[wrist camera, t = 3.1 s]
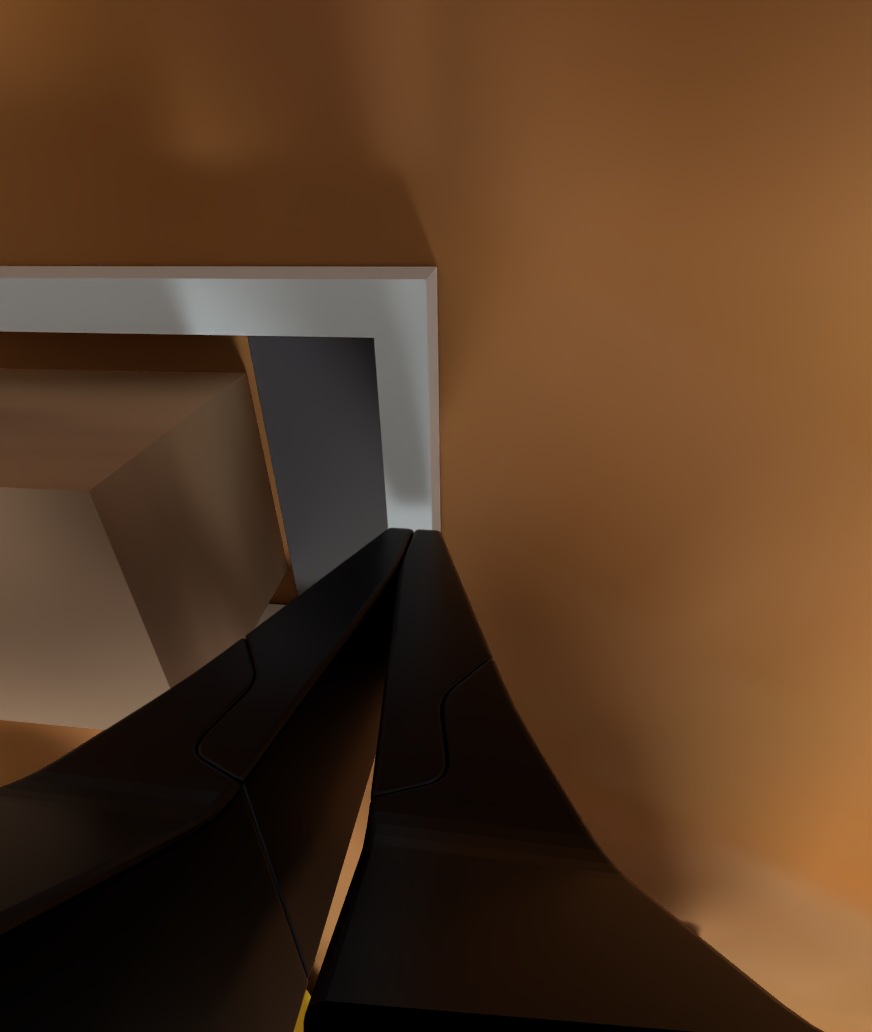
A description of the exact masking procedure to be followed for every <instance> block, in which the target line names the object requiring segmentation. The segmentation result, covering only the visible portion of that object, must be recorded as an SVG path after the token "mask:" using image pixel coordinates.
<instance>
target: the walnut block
mask: <svg viewBox="0 0 872 1032" xmlns="http://www.w3.org/2000/svg"><path fill="white" fill-rule="evenodd" d="M287 570H288V568H287V563H286V558H285V553H284V549H283V544H282V539H281V534H280V530H279V525H278V520H277V515H276V510H275V506H274V501H273V496H272V491H271V487H270V482H269V477H268V472H267V468H266V463H265V458H264V453H263V449H262V444H261V439H260V434H259V429H258V425H257V420H256V415H255V410H254V406H253V401H252V396H251V391H250V387H249V382H248V377H247V372H188V371H126V370H64V369H3V368H0V720H7V721H17V722H27V723H37V724H47V725H57V726H67V727H77V728H87V729H98V730H106V729H107V728H109V727H110V726H112V725H114V724H115V723H117V722H118V721H120V720H122V719H123V718H125V717H126V716H128V715H130V714H131V713H133V712H134V711H136V710H138V709H139V708H141V707H142V706H144V705H146V704H147V703H149V702H150V701H152V700H153V699H155V698H157V697H158V696H160V695H161V694H163V693H164V692H166V691H167V690H169V689H170V688H172V687H173V686H175V685H176V684H178V683H179V682H181V681H183V680H184V679H186V678H187V677H189V676H190V675H192V674H193V673H194V672H196V671H197V670H199V669H200V668H201V667H203V666H204V665H206V664H207V663H208V662H210V661H211V660H213V659H214V658H215V657H217V656H218V655H220V654H221V653H222V652H224V651H225V650H226V649H228V648H229V647H230V646H232V645H233V644H234V643H236V642H237V641H238V640H240V639H241V638H244V639H246V638H245V637H246V635H247V634H248V633H249V632H251V631H252V630H253V629H254V628H255V626H256V624H257V623H258V621H259V619H260V617H261V616H262V614H263V612H264V610H265V609H266V607H267V605H268V603H269V602H270V600H271V598H272V597H273V595H274V593H275V591H276V590H277V588H278V586H279V584H280V583H281V581H282V579H283V577H284V576H285V574H286V572H287Z"/></svg>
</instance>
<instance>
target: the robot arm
mask: <svg viewBox="0 0 872 1032" xmlns="http://www.w3.org/2000/svg"><path fill="white" fill-rule="evenodd" d="M245 638H246V639H244V638H241V639H240V640H238V641H237V642H236V643H234V644H233V645H232V646H230V647H229V648H228V649H226V650H225V651H224V652H222V653H221V654H220V655H218V656H217V657H215V658H214V659H213V660H211V661H210V662H208V663H207V664H206V665H204V666H203V667H201V668H200V669H199V670H197V671H196V672H194V673H193V674H192V675H190V676H189V677H187V678H186V679H184V680H183V681H181V682H179V683H178V684H176V685H175V686H173V687H172V688H170V689H169V690H167V691H166V692H164V693H163V694H161V695H160V696H158V697H157V698H155V699H153V700H152V701H150V702H149V703H147V704H146V705H144V706H142V707H141V708H139V709H138V710H136V711H134V712H133V713H131V714H130V715H128V716H126V717H125V718H123V719H122V720H120V721H118V722H117V723H115V724H114V725H112V726H110V727H109V728H107V729H106V730H104V731H102V732H101V733H99V734H98V735H96V736H94V737H93V738H91V739H90V740H88V741H86V742H85V743H83V744H82V745H80V746H79V747H77V748H75V749H74V750H72V751H71V752H69V753H67V754H66V755H64V756H63V757H61V758H59V759H58V760H56V761H54V762H53V763H51V764H49V765H47V766H46V767H44V768H42V769H41V770H39V771H37V772H35V773H33V774H31V775H29V776H27V777H25V778H23V779H21V780H18V781H16V782H13V783H11V784H8V785H5V786H3V787H0V1032H294V1029H295V1025H296V1022H297V1019H298V1015H299V1012H300V1009H301V1005H302V1002H303V999H304V995H305V992H306V988H307V985H308V980H307V978H309V977H310V974H311V971H312V967H313V964H314V961H315V957H316V954H317V951H318V947H319V944H320V940H321V937H322V934H323V930H324V927H325V924H326V920H327V917H328V914H329V910H330V907H331V903H332V900H333V897H334V893H335V890H336V887H337V883H338V880H339V876H340V873H341V870H342V866H343V863H344V860H345V856H346V853H347V849H348V846H349V843H350V839H351V836H352V833H353V829H354V826H355V822H356V819H357V816H358V812H359V809H360V806H361V802H362V799H363V795H364V792H365V789H366V785H367V782H368V779H369V775H370V772H371V768H372V765H373V762H374V758H375V766H374V774H373V782H372V790H371V803H370V808H369V815H368V822H367V829H366V834H365V839H364V844H363V849H362V852H361V855H360V858H359V861H358V864H357V867H356V870H355V872H354V875H353V878H352V881H351V884H350V887H349V890H348V892H347V895H346V898H345V901H344V904H343V907H342V910H341V912H340V915H339V918H338V921H337V924H336V927H335V930H334V932H333V935H332V938H331V941H330V944H329V947H328V950H327V952H326V955H325V958H324V961H323V964H322V967H321V970H320V972H319V975H318V978H317V981H316V984H315V987H314V990H313V992H312V995H311V998H310V1001H309V1004H308V1007H307V1010H306V1012H305V1016H304V1022H303V1028H304V1032H824V1031H822V1030H820V1029H818V1028H817V1027H815V1026H813V1025H812V1024H810V1023H809V1022H807V1021H806V1020H805V1019H803V1018H802V1017H800V1016H799V1015H798V1014H796V1013H795V1012H793V1011H792V1010H791V1009H789V1008H788V1007H786V1006H785V1005H784V1004H782V1003H781V1002H780V1001H779V1000H777V999H776V998H775V997H774V996H772V995H771V994H770V993H769V992H767V991H766V990H765V989H764V988H762V987H761V986H760V985H759V984H757V983H756V982H755V981H754V980H753V979H751V978H750V977H749V976H748V975H746V974H745V973H744V972H743V971H741V970H740V969H739V968H738V967H736V966H735V965H734V964H733V963H731V962H730V961H729V960H728V959H727V958H725V957H724V956H723V955H722V954H720V953H719V952H718V951H717V950H715V949H714V948H713V947H712V946H710V945H709V944H708V943H707V942H705V941H704V940H703V939H702V938H700V937H699V936H698V935H697V934H696V933H694V932H693V931H692V930H691V929H689V928H688V927H687V926H686V925H684V924H683V923H682V922H681V921H679V920H678V919H677V918H676V917H674V916H673V915H672V914H671V913H670V912H668V911H667V910H666V909H665V908H663V907H662V906H661V905H660V904H658V903H657V902H656V901H655V900H653V899H652V898H651V897H650V896H648V895H647V894H646V893H645V892H644V891H642V890H641V889H640V888H639V887H637V886H636V885H635V884H634V883H633V882H631V881H630V880H629V879H628V878H627V877H626V876H625V875H624V874H623V873H622V872H621V871H620V870H619V869H618V868H617V867H616V866H615V865H614V864H613V862H612V861H611V860H610V859H609V858H608V856H607V855H606V854H605V853H604V851H603V850H602V848H601V847H600V846H599V844H598V843H597V842H596V840H595V839H594V837H593V836H592V834H591V832H590V831H589V829H588V828H587V826H586V825H585V823H584V822H583V820H582V818H581V817H580V815H579V813H578V812H577V810H576V808H575V807H574V805H573V804H572V802H571V800H570V799H569V797H568V795H567V794H566V792H565V790H564V789H563V787H562V786H561V784H560V782H559V781H558V779H557V777H556V776H555V774H554V772H553V771H552V769H551V768H550V766H549V764H548V763H547V761H546V759H545V758H544V756H543V754H542V753H541V751H540V750H539V748H538V746H537V745H536V743H535V741H534V740H533V738H532V736H531V734H530V733H529V731H528V729H527V727H526V726H525V724H524V722H523V720H522V718H521V717H520V715H519V713H518V711H517V710H516V708H515V706H514V704H513V701H512V699H511V697H510V695H509V693H508V691H507V689H506V686H505V684H504V682H503V680H502V678H501V675H500V673H499V670H498V668H497V666H496V663H495V661H494V660H493V657H492V654H491V652H490V650H489V647H488V645H487V642H486V640H485V638H484V635H483V633H482V630H481V628H480V626H479V623H478V621H477V618H476V616H475V614H474V611H473V609H472V606H471V604H470V602H469V599H468V597H467V594H466V592H465V590H464V587H463V585H462V582H461V580H460V578H459V575H458V573H457V570H456V568H455V566H454V563H453V561H452V558H451V556H450V554H449V551H448V549H447V546H446V544H445V542H444V539H443V537H442V534H441V533H440V531H438V530H424V529H418V530H415V532H414V531H413V530H412V529H407V528H388V529H387V530H385V531H384V532H383V533H381V534H380V535H379V536H377V537H376V538H375V539H373V540H372V541H371V542H369V543H368V544H367V545H365V546H364V547H363V548H361V549H360V550H359V551H357V552H356V553H355V554H353V555H352V556H351V557H349V558H348V559H347V560H345V561H344V562H343V563H341V564H340V565H339V566H337V567H336V568H335V569H333V570H332V571H331V572H329V573H328V574H327V575H325V576H324V577H323V578H321V579H320V580H319V581H317V582H316V583H315V584H313V585H312V586H311V587H309V588H308V589H307V590H305V591H304V592H303V593H301V594H300V595H299V596H297V597H296V598H295V599H293V600H292V601H291V602H289V603H288V604H287V605H285V606H284V607H283V608H281V609H280V610H279V611H277V612H276V613H275V614H273V615H272V616H271V617H269V618H268V619H267V620H265V621H264V622H263V623H261V624H260V625H259V626H257V627H256V628H255V629H253V630H252V631H251V632H249V633H248V634H247V635H246V637H245ZM375 755H376V757H375Z"/></svg>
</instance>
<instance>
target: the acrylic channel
mask: <svg viewBox="0 0 872 1032" xmlns="http://www.w3.org/2000/svg"><path fill="white" fill-rule="evenodd" d="M0 331H1V332H61V333H121V334H182V335H242V336H248V342H249V347H250V353H251V358H252V363H253V368H254V373H255V378H256V384H257V389H258V394H259V399H260V404H261V409H262V414H263V420H264V425H265V430H266V435H267V440H268V445H269V450H270V456H271V461H272V466H273V471H274V476H275V481H276V486H277V492H278V497H279V502H280V507H281V512H282V517H283V522H284V528H285V533H286V538H287V543H288V548H289V553H290V559H291V564H292V569H293V574H294V579H295V584H296V589H297V595H298V596H299V595H300V594H301V593H303V592H304V591H305V590H307V589H308V588H309V587H311V586H312V585H313V584H315V583H316V582H317V581H319V580H320V579H321V578H323V577H324V576H325V575H327V574H328V573H329V572H331V571H332V570H333V569H335V568H336V567H337V566H339V565H340V564H341V563H343V562H344V561H345V560H347V559H348V558H349V557H351V556H352V555H353V554H355V553H356V552H357V551H359V550H360V549H361V548H363V547H364V546H365V545H367V544H368V543H369V542H371V541H372V540H373V539H375V538H376V537H377V536H379V535H380V534H381V533H383V532H384V531H385V530H387V529H388V528H407V529H412V530H413V531H414V532H415V530H418V529H424V530H438V531H440V533H441V519H440V446H439V372H438V299H437V267H348V266H0ZM284 606H285V605H279V604H268V605H267V607H266V609H265V610H264V612H263V614H262V616H261V617H260V619H259V621H258V623H257V624H256V626H255V628H256V627H257V626H259V625H260V624H261V623H263V622H264V621H265V620H267V619H268V618H269V617H271V616H272V615H273V614H275V613H276V612H277V611H279V610H280V609H281V608H283V607H284ZM255 628H254V629H255Z"/></svg>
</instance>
